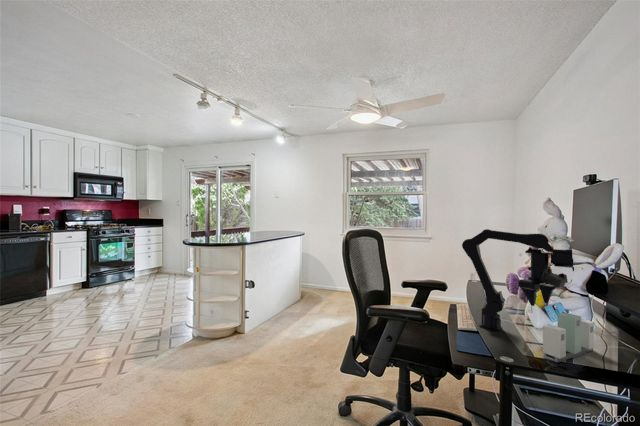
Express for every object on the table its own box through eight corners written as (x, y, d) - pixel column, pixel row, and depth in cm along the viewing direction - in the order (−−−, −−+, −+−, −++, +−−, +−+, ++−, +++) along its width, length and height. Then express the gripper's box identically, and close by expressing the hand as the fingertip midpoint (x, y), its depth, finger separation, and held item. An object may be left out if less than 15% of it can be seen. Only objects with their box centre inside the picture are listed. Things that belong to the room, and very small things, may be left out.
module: (557, 348, 106) (557, 313, 106) (563, 346, 108) (563, 312, 108) (575, 354, 101) (575, 318, 102) (581, 351, 104) (581, 316, 104)
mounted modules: (542, 352, 102) (542, 325, 102) (577, 342, 112) (577, 317, 112) (559, 358, 98) (559, 330, 98) (594, 347, 107) (594, 322, 107)
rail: (543, 357, 102) (543, 353, 102) (579, 346, 111) (579, 342, 111) (557, 362, 98) (557, 358, 98) (593, 350, 108) (593, 346, 108)
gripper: (548, 269, 109) (548, 313, 108) (576, 266, 117) (576, 307, 116) (517, 265, 119) (517, 305, 118) (544, 263, 127) (544, 300, 126)
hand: (539, 304), depth 119 cm, fingers open, 9 cm apart
